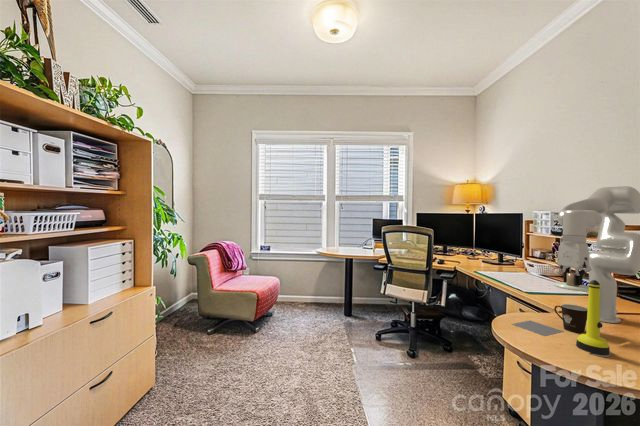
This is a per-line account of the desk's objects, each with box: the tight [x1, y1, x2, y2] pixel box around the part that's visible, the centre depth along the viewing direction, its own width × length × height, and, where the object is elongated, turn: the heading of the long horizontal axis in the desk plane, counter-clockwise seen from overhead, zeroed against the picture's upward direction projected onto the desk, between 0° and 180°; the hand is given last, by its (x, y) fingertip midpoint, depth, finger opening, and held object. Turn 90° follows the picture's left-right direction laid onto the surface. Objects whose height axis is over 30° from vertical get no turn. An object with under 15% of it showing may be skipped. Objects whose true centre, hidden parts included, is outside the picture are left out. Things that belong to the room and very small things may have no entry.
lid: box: [553, 272, 589, 293], centre depth 124 cm, size 12×12×6 cm
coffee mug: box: [554, 303, 588, 335], centre depth 124 cm, size 12×9×10 cm
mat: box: [511, 320, 565, 337], centre depth 124 cm, size 13×13×1 cm
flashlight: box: [575, 280, 611, 358], centre depth 105 cm, size 25×9×9 cm
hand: (572, 283), depth 124 cm, fingers closed on lid, 4 cm apart
